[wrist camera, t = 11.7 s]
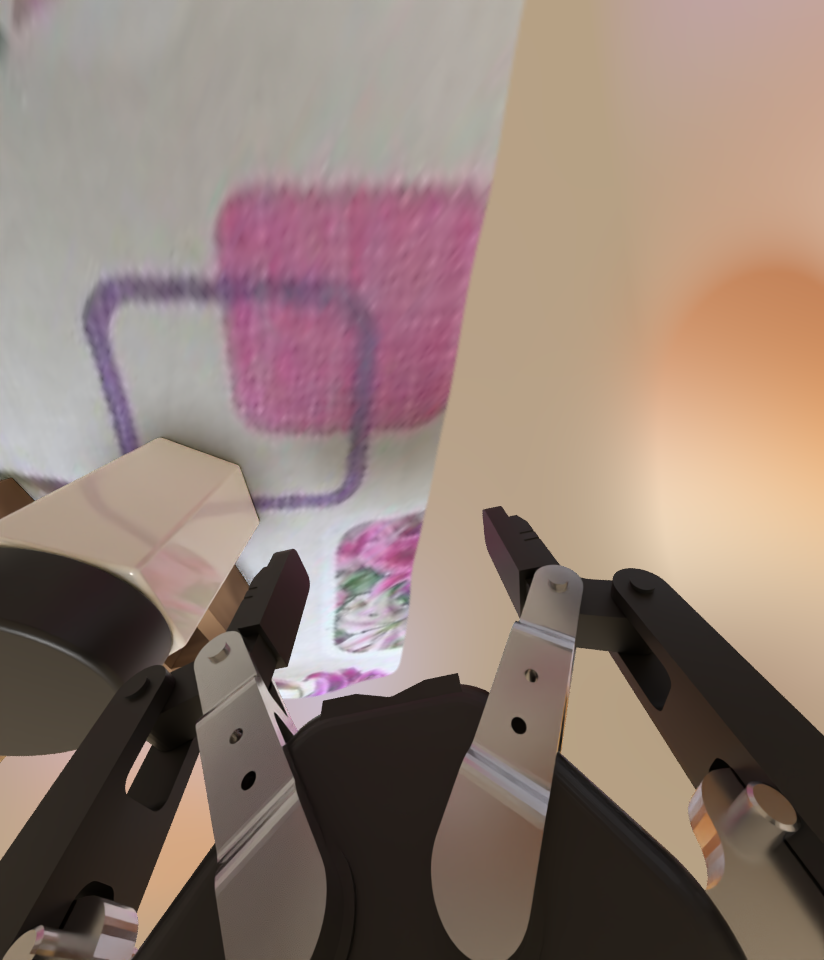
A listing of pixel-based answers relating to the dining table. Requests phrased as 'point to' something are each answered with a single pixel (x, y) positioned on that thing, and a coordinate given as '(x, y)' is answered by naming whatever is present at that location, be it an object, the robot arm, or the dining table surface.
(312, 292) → the dining table surface
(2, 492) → the block
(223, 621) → the socket block
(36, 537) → the jar
